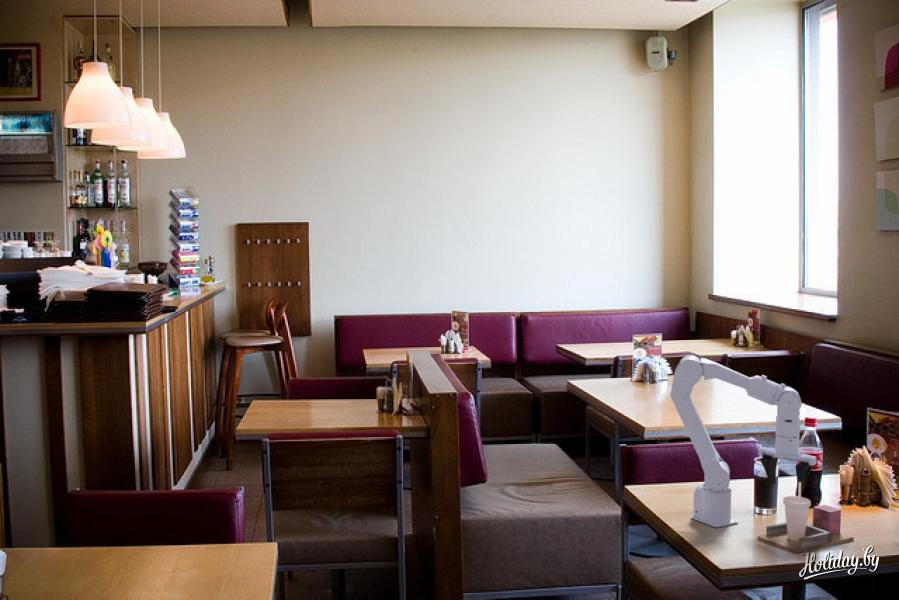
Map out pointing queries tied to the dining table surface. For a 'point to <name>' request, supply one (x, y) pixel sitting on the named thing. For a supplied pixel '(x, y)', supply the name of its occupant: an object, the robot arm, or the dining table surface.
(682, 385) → the robot arm
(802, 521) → the smoothie
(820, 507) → the open-sided grey tray
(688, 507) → the dining table surface
